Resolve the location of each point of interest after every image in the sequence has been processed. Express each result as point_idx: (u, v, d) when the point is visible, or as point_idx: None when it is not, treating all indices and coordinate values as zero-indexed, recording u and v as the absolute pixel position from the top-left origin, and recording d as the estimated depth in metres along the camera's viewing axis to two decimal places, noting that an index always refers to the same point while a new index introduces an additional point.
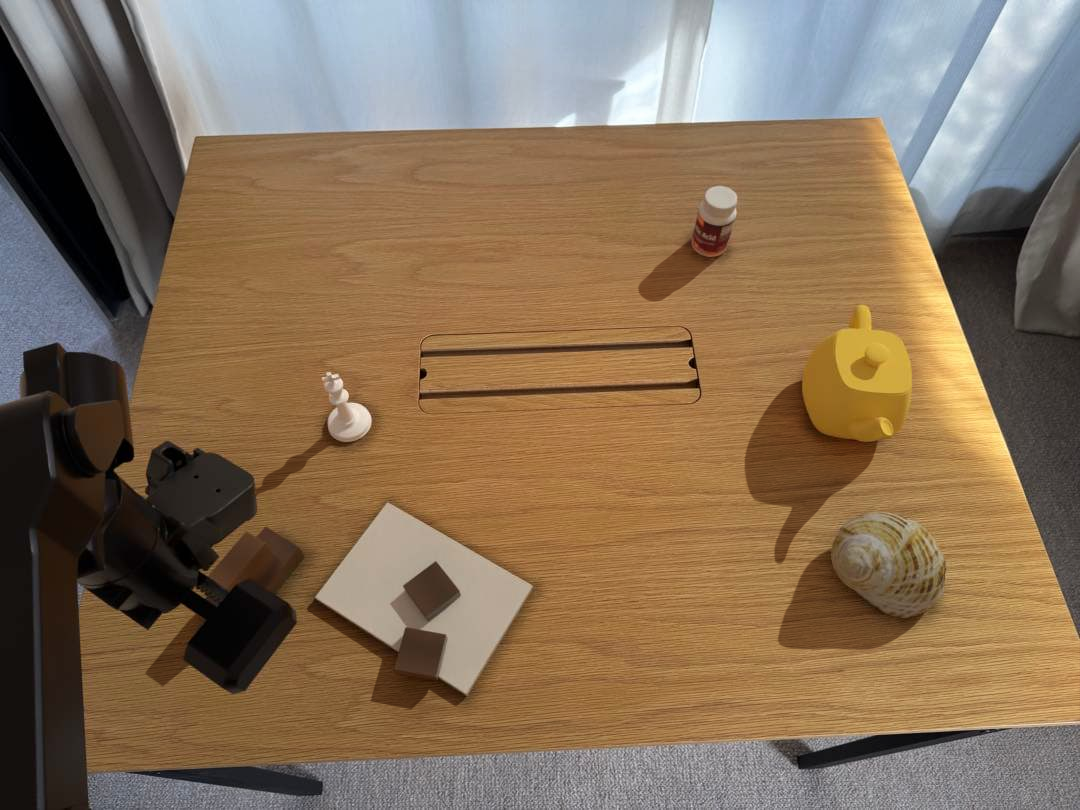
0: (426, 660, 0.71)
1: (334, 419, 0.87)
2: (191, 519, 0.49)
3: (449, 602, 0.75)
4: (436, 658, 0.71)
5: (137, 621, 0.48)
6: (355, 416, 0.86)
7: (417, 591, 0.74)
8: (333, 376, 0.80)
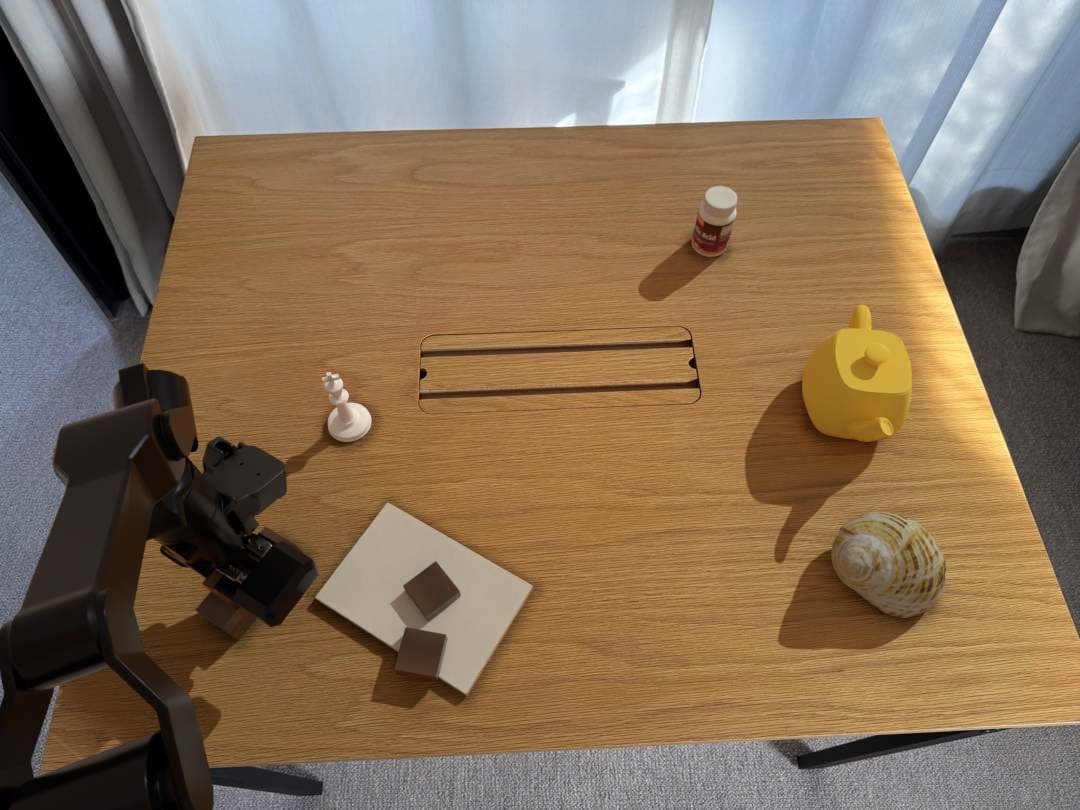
0: (426, 660, 0.71)
1: (334, 419, 0.87)
2: (239, 495, 0.65)
3: (449, 602, 0.75)
4: (436, 658, 0.71)
5: (199, 572, 0.64)
6: (355, 416, 0.86)
7: (417, 591, 0.74)
8: (333, 376, 0.80)
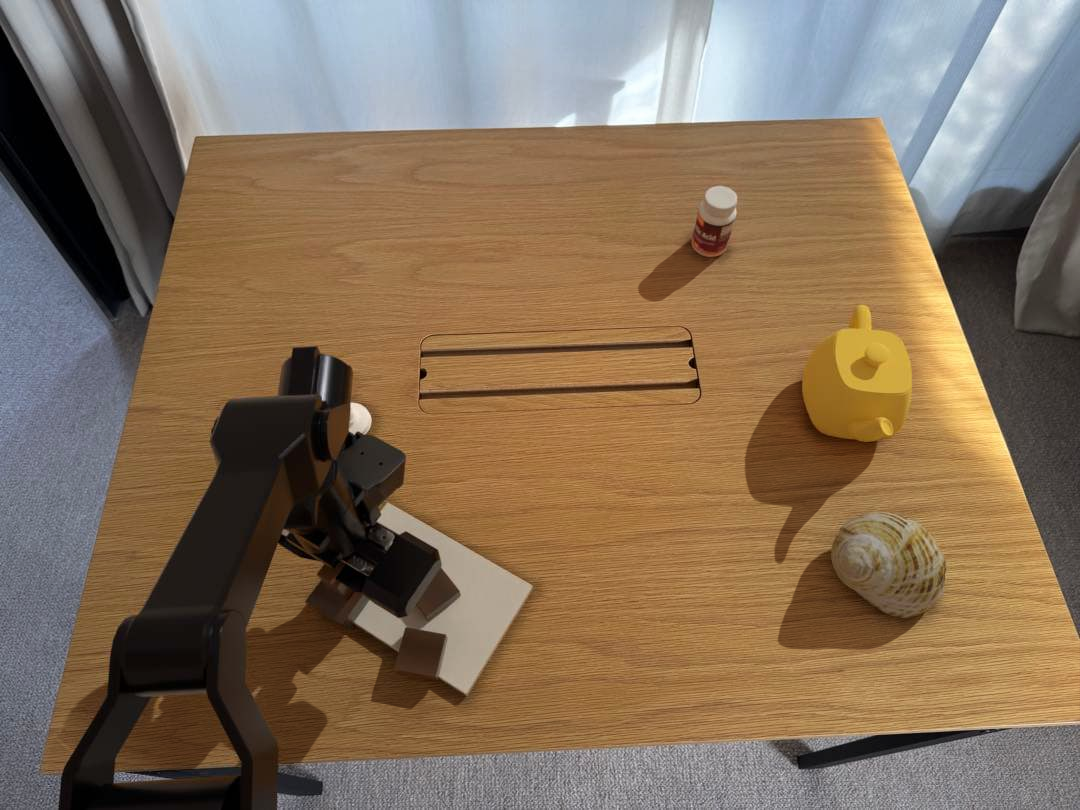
0: (426, 660, 0.71)
1: None
2: (365, 485, 0.64)
3: (449, 602, 0.75)
4: (436, 658, 0.71)
5: (327, 562, 0.63)
6: (355, 416, 0.86)
7: None
8: None
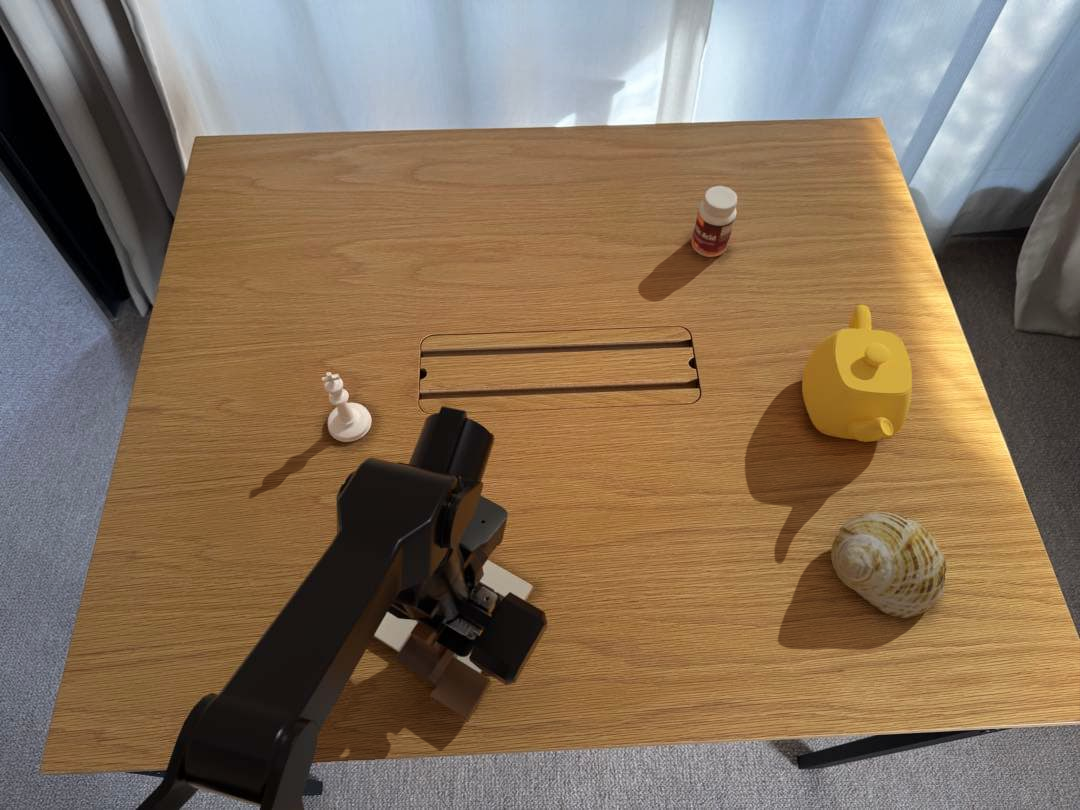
0: (463, 699, 0.69)
1: (334, 419, 0.87)
2: (471, 545, 0.61)
3: None
4: (473, 700, 0.69)
5: (433, 627, 0.60)
6: (355, 416, 0.86)
7: None
8: (333, 376, 0.80)
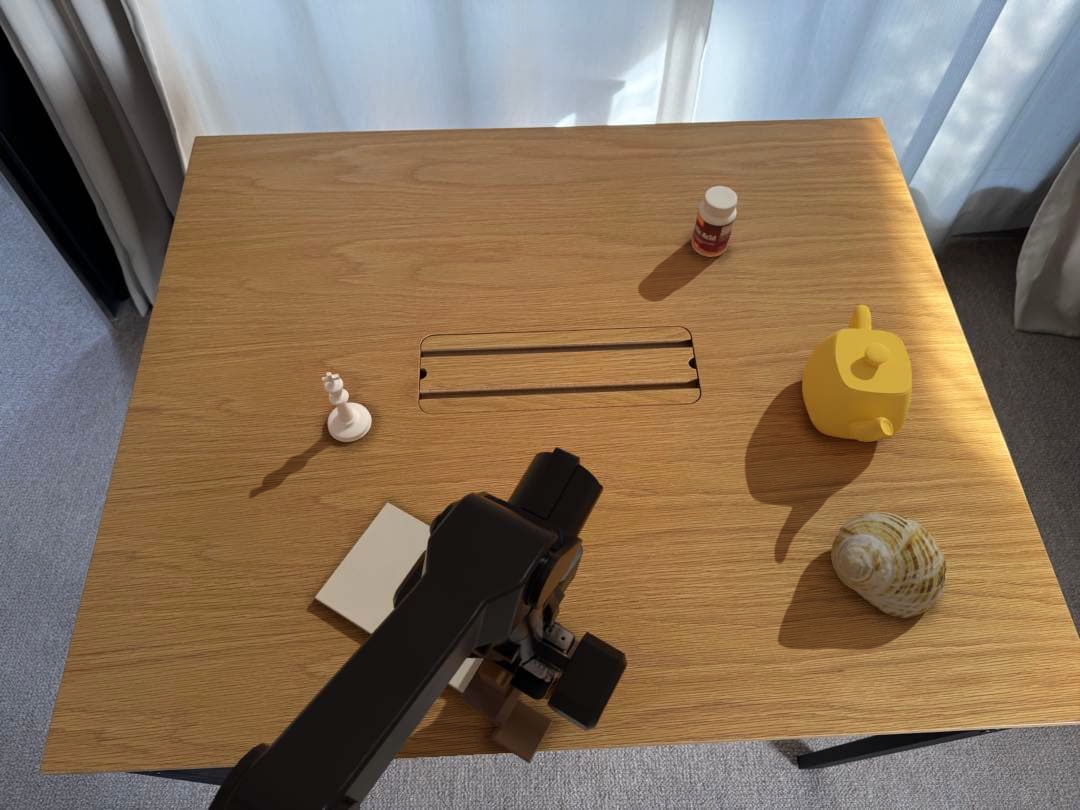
0: (525, 740, 0.68)
1: (334, 419, 0.87)
2: None
3: None
4: (535, 741, 0.68)
5: (509, 670, 0.57)
6: (355, 416, 0.86)
7: None
8: (333, 376, 0.80)
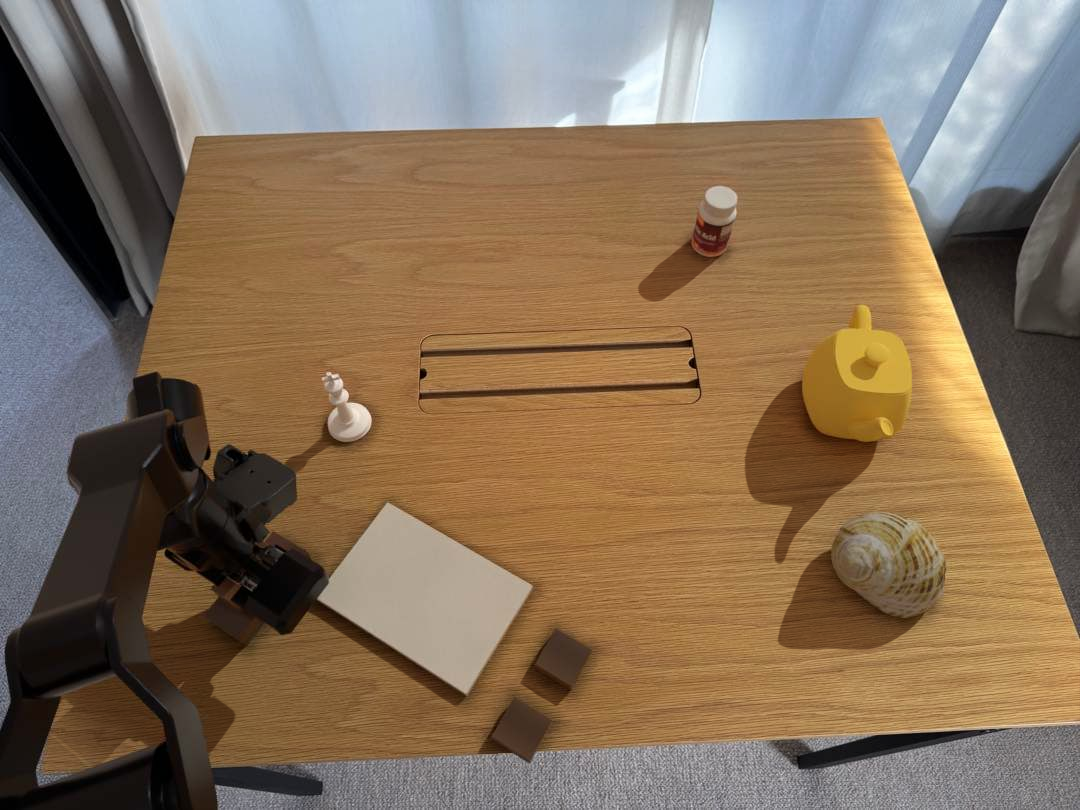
0: (525, 740, 0.68)
1: (334, 419, 0.87)
2: (250, 503, 0.65)
3: (585, 664, 0.73)
4: (535, 741, 0.68)
5: (210, 580, 0.64)
6: (355, 416, 0.86)
7: (551, 665, 0.72)
8: (333, 376, 0.80)
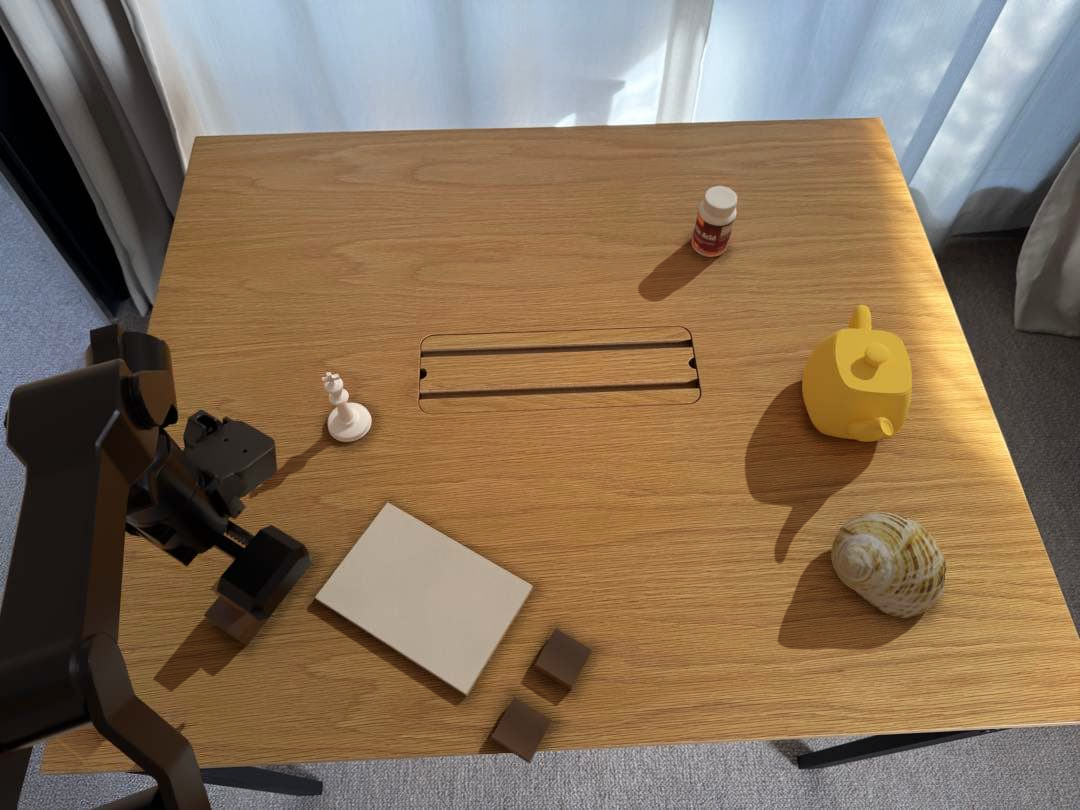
0: (525, 740, 0.68)
1: (334, 419, 0.87)
2: (223, 473, 0.58)
3: (585, 664, 0.73)
4: (535, 741, 0.68)
5: (178, 558, 0.57)
6: (355, 416, 0.86)
7: (551, 665, 0.72)
8: (333, 376, 0.80)
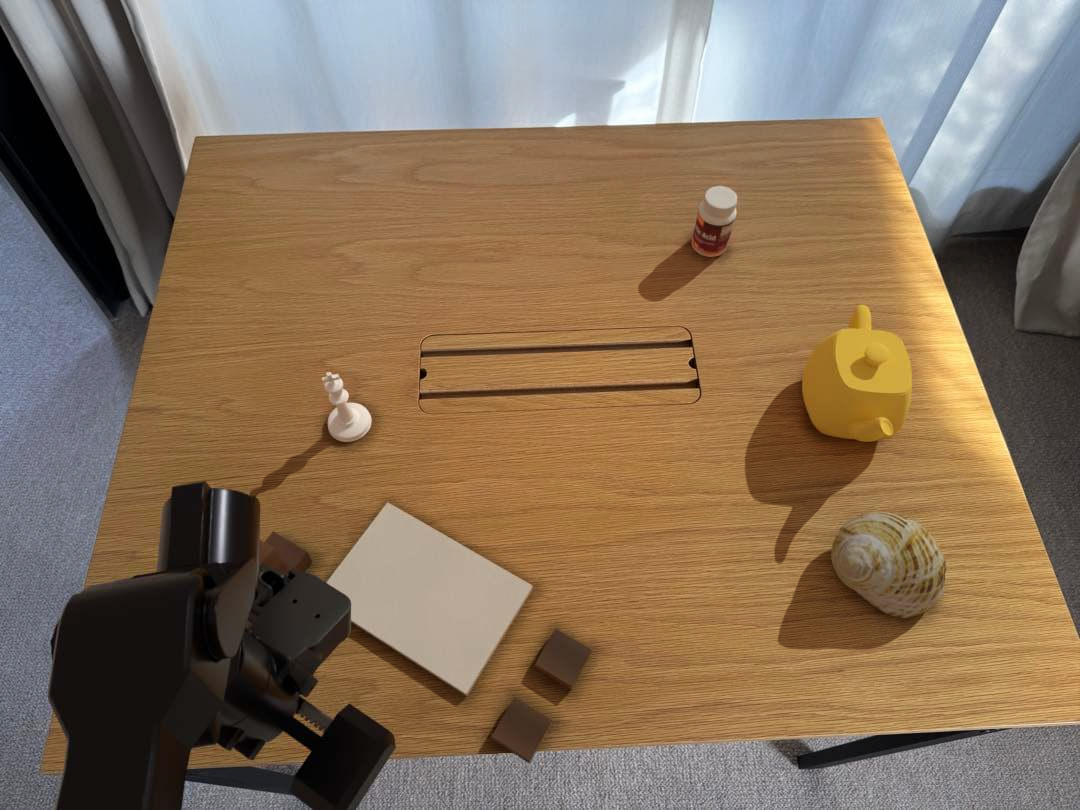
0: (525, 740, 0.68)
1: (334, 419, 0.87)
2: (295, 650, 0.49)
3: (585, 664, 0.73)
4: (535, 741, 0.68)
5: (244, 753, 0.48)
6: (355, 416, 0.86)
7: (551, 665, 0.72)
8: (333, 376, 0.80)
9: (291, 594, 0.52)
